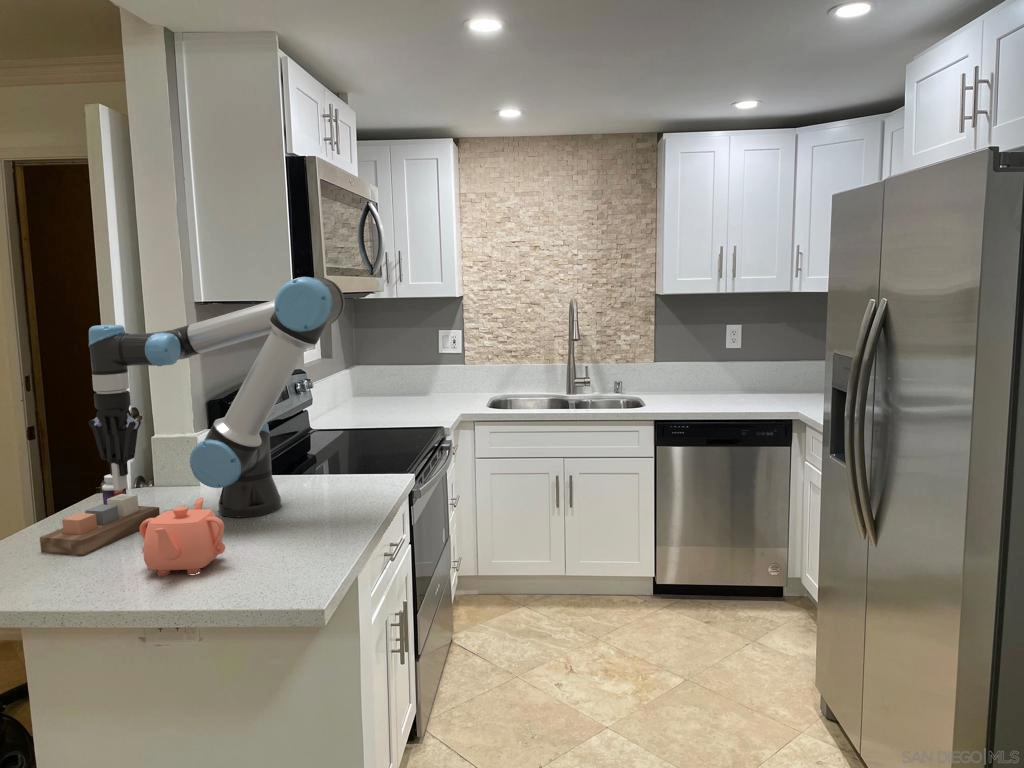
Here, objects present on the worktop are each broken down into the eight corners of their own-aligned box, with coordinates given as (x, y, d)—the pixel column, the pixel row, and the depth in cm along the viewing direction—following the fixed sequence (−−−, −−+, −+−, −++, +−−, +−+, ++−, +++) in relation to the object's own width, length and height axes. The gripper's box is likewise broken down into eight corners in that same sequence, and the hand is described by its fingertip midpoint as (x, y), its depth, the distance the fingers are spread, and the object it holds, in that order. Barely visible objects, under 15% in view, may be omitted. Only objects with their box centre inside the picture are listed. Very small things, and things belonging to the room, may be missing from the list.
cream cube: (139, 514, 183) (137, 494, 182) (125, 520, 178) (123, 500, 178) (123, 513, 184) (121, 493, 183) (108, 519, 180) (106, 499, 179)
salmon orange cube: (97, 535, 170) (95, 514, 170) (81, 542, 166) (79, 520, 165) (80, 534, 172) (78, 512, 171) (64, 541, 167) (62, 519, 166)
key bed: (160, 521, 185) (159, 507, 185) (82, 556, 162) (81, 540, 162) (122, 518, 188) (121, 504, 188) (41, 552, 165) (39, 537, 165)
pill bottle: (118, 516, 190) (114, 478, 189) (99, 515, 191) (95, 477, 190) (132, 509, 195) (129, 473, 194) (114, 508, 197) (111, 472, 195)
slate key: (119, 526, 177) (117, 505, 176) (104, 532, 172) (102, 511, 172) (103, 525, 178) (100, 504, 177) (87, 531, 173) (85, 510, 173)
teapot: (160, 589, 144) (154, 525, 142) (133, 566, 156) (128, 507, 154) (237, 568, 154) (232, 508, 152) (206, 547, 166) (202, 492, 164)
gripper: (146, 389, 179) (154, 486, 182) (100, 388, 182) (109, 483, 185) (123, 394, 172) (132, 494, 175) (75, 392, 175) (85, 491, 178)
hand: (120, 488), depth 180 cm, fingers closed
